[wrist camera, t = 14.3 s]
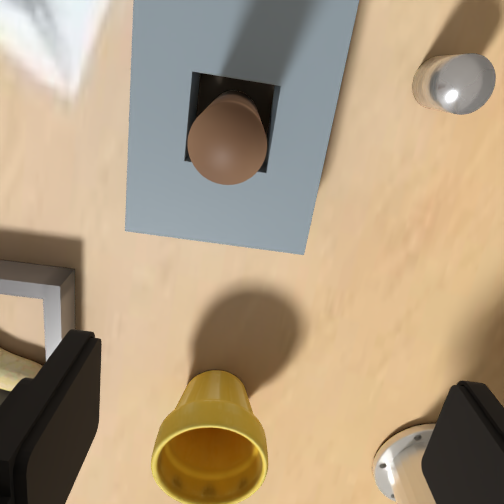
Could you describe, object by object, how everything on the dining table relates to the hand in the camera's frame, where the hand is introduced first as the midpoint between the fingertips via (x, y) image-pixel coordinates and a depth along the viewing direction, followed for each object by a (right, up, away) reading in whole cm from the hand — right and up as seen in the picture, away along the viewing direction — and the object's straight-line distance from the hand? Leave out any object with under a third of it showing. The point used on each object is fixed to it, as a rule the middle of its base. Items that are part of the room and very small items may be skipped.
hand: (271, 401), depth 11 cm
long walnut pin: (-2, +15, +24) cm, 28 cm away
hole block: (-2, +15, +24) cm, 28 cm away
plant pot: (-4, -11, +36) cm, 38 cm away
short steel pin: (+15, +18, +23) cm, 33 cm away
